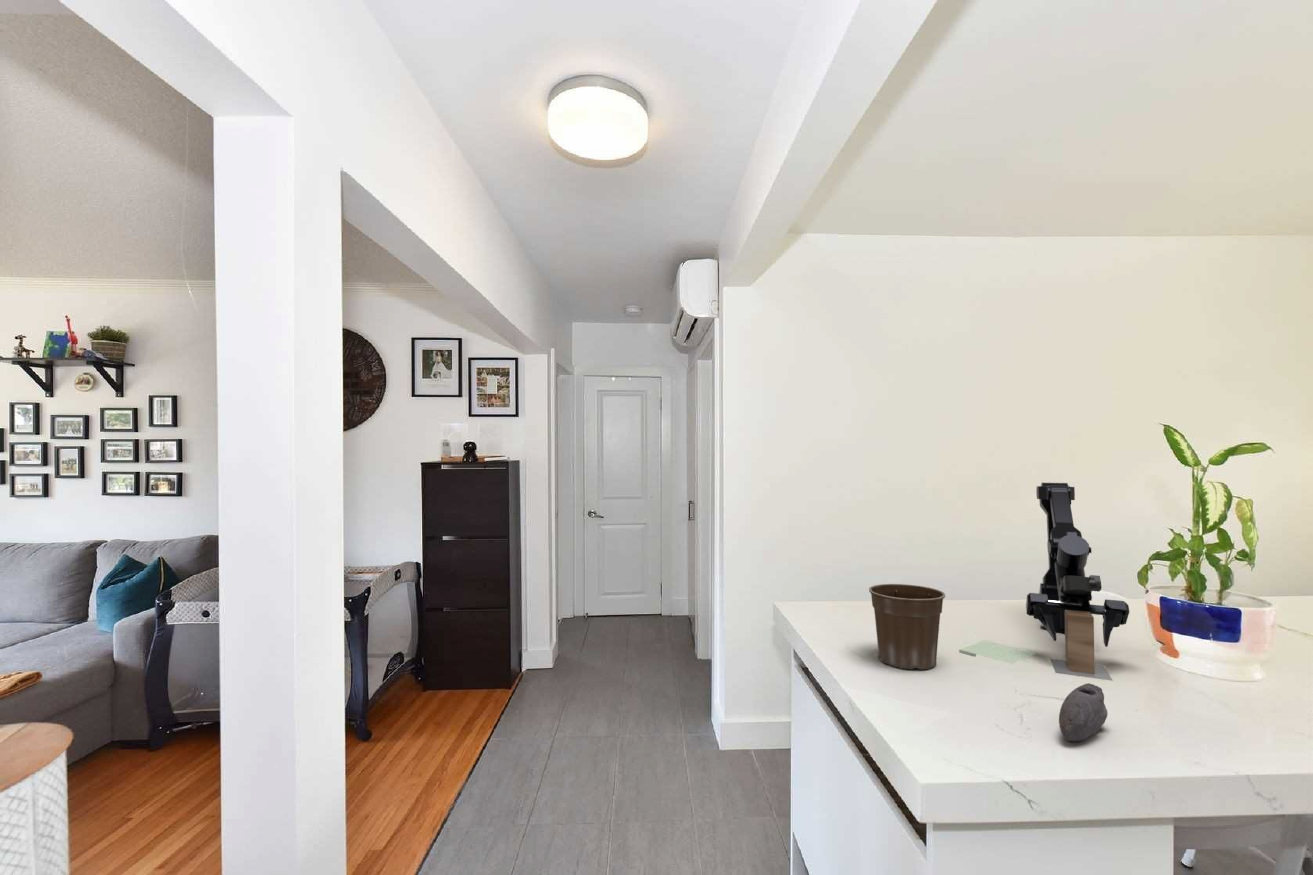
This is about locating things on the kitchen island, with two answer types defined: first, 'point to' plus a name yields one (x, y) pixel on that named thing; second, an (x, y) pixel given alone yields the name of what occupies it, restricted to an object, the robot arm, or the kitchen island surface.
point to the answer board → (997, 651)
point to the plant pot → (907, 624)
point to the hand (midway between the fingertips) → (1080, 642)
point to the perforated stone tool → (1082, 712)
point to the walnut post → (1079, 641)
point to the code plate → (1062, 669)
